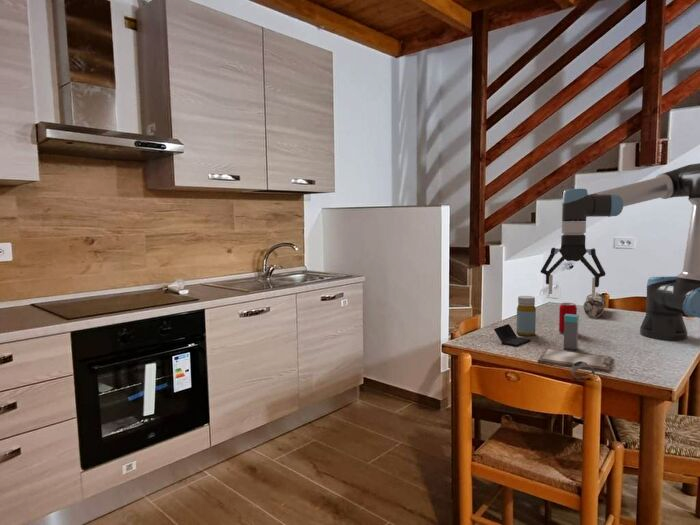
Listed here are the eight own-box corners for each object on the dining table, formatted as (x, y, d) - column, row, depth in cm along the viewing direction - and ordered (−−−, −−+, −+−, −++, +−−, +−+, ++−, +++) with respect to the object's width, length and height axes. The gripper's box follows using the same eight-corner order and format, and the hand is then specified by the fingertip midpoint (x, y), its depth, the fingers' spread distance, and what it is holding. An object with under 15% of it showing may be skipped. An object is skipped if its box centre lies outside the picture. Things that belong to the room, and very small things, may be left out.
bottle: (535, 332, 186) (536, 296, 184) (534, 337, 180) (535, 299, 178) (517, 331, 189) (517, 295, 187) (515, 335, 182) (516, 298, 181)
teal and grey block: (577, 348, 163) (578, 314, 162) (576, 351, 160) (577, 317, 159) (565, 346, 166) (565, 313, 164) (563, 349, 162) (564, 315, 161)
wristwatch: (569, 376, 135) (569, 359, 135) (591, 376, 134) (591, 360, 134) (574, 380, 132) (574, 363, 131) (596, 380, 131) (597, 363, 131)
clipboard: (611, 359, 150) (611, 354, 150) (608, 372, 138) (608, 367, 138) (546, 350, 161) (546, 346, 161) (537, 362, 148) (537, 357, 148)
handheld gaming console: (522, 343, 165) (507, 319, 169) (506, 353, 169) (491, 329, 173) (532, 341, 174) (517, 318, 178) (516, 350, 178) (502, 328, 182)
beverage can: (578, 335, 181) (578, 305, 179) (561, 335, 182) (561, 305, 181) (573, 331, 187) (574, 302, 186) (557, 331, 188) (557, 302, 187)
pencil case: (603, 319, 208) (604, 298, 207) (582, 317, 212) (583, 296, 212) (605, 310, 227) (605, 291, 226) (585, 309, 231) (586, 290, 230)
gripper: (615, 234, 155) (613, 296, 157) (537, 233, 169) (535, 290, 171) (614, 234, 149) (611, 299, 151) (533, 234, 163) (531, 293, 165)
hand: (571, 295), depth 161 cm, fingers open, 13 cm apart
